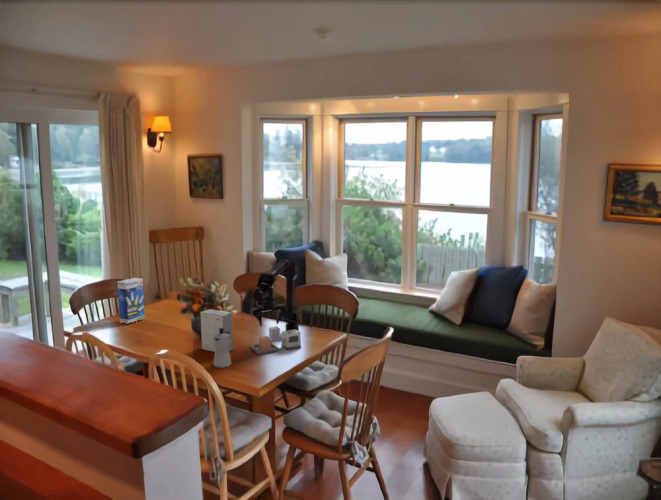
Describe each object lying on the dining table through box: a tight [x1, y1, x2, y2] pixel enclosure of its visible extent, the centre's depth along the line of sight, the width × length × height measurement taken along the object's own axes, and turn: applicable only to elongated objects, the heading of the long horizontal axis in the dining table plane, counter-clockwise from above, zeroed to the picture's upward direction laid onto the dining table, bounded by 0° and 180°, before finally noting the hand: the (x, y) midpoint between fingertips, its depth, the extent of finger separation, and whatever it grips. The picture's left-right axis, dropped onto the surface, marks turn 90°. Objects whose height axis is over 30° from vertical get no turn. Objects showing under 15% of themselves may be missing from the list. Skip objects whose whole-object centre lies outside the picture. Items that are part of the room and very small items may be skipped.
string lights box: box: [116, 277, 146, 323], centre depth 338 cm, size 13×8×26 cm, turn 149°
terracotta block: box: [258, 335, 272, 350], centre depth 291 cm, size 4×4×6 cm
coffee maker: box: [213, 328, 232, 369], centre depth 271 cm, size 15×9×18 cm, turn 164°
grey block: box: [268, 325, 281, 341], centre depth 309 cm, size 4×4×6 cm
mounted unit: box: [281, 329, 302, 352], centre depth 294 cm, size 8×7×8 cm
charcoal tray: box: [250, 341, 280, 356], centre depth 291 cm, size 11×11×2 cm
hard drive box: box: [199, 308, 234, 353], centre depth 290 cm, size 16×8×20 cm, turn 59°
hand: (269, 325), depth 295 cm, fingers open, 9 cm apart
